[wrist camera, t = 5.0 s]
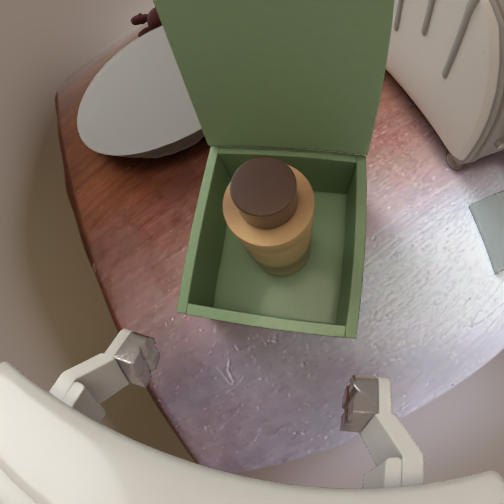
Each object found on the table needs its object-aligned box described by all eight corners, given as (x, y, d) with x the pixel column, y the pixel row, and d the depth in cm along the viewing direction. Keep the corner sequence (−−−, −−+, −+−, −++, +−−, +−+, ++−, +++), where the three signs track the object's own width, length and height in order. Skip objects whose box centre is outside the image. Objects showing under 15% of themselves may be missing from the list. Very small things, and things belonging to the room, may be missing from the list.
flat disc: (320, 94, 30) (320, 68, 26) (119, 217, 31) (96, 204, 26) (218, 18, 38) (212, 0, 34) (84, 100, 39) (70, 86, 34)
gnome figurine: (205, -14, 33) (136, 11, 37) (193, -8, 30) (119, 22, 34) (216, 14, 39) (148, 36, 43) (206, 25, 36) (133, 49, 40)
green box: (342, 333, 24) (356, 338, 17) (206, 314, 26) (176, 312, 20) (353, 191, 27) (366, 155, 20) (230, 181, 29) (210, 145, 23)
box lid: (396, -28, 6) (378, -39, 8) (146, -16, 9) (179, -32, 11) (367, 156, 20) (363, 116, 21) (207, 146, 22) (222, 109, 24)
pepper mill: (318, 266, 25) (332, 213, 12) (264, 284, 25) (226, 250, 13) (299, 215, 26) (293, 129, 14) (247, 233, 27) (201, 161, 14)
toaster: (459, 205, 24) (586, 68, 3) (294, 2, 36) (279, -95, 15) (541, 165, 22) (619, 83, 1) (385, -5, 35) (390, -86, 13)
